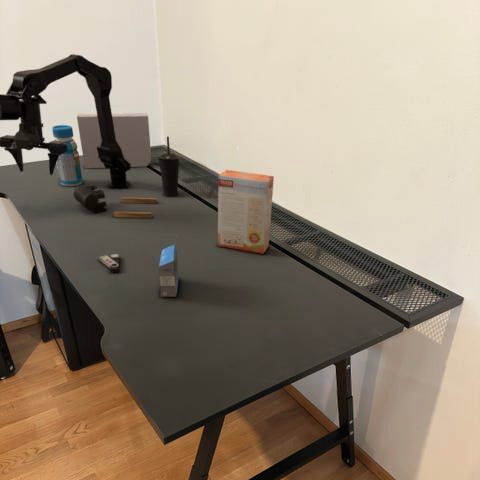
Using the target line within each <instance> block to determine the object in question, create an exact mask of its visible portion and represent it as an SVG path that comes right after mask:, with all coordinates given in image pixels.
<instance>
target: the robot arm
mask: <svg viewBox="0 0 480 480" xmlns="http://www.w3.org/2000/svg"><path fill="white" fill-rule="evenodd" d="M74 73H78V75H80V76H81V77H83V78H84V80H85V83H86V85H87V88H88V89H89V91H90V93H91V94H92V96H93V99H94V104H95V111H96V114H97V117H98V122H99V128H100V134H101V139H102V142H101V145H100V146H98V147H97V151H98V158H100V161H101V162H102V163H103V164H104V166H105V168H104V169H109V174H110V182H111V183H110V184H109V186H108V188H110V189H127V188H128V187H129V185H130V181H128V178H127V173H128V171H130V170H131V167H130V166H131V164H130V163H129V162H128V161H127V160H126V159H124V156H123V153H122V149H121V148H120V146H119V144H118V143H117V141H116V137H115V131H114V124H113V118H112V114H113V113H112V112H113V111H112V106H111V100H110V95H111V91H112V89H113V79H112V78H113V77H112V73H111V71H110V70H109V69H108V68H106V67H105V66H100V65H98V64H97V63H94V62H92V61H90V60H88V59H87V58H85V57H84V56H83V55H80V54H73V53H72V54H69V55H68V56H67V57H64V58H62V59H59V60H57V61H54V62H52V63H49V64H47V65H45V66H43V67H40V68H36V69H26V70H19V71H16V72H15V73H13V75H12V82H11V84H10V86H9V87H8V89H7V91H6V93H5V94H0V121H18V120H20V123H18V131H17V132H16V133H15V134H14V135H11V134H5V135H3V136H0V148H4V151H7V152H8V153H9V154H11V156H12V157H13V159H14V161H15V163H16V166H17V168H18V169H19V171H20V172H21V173H22V172H24V157H23V150H26V151H32V150H33V149H44V150H47V151H48V153H47V157H48V165H49V166H48V168H49V169H48V170H49V176H52V175H53V174H54V171H55V168H56V166H57V163H56V162H57V160H58V158H59V156H60V155H61V154H63V153H64V152H66V151H67V145H66V143H65V142H62V141H55V140H52V141H51V140H50V141H49V142H45V139H46V138H45V136H44V134H43V128H44V123H43V122H42V115H41V105H46V104H48V103H47V100H45V98H43V97H42V96H41V94H42V93H43V92H44V91H46V89H47V88H48V86H49V85H50V84H51V83H54V82H57V81H58V80H61V79H63V78H66V77H67V76H70V75H73V74H74Z"/></svg>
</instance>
